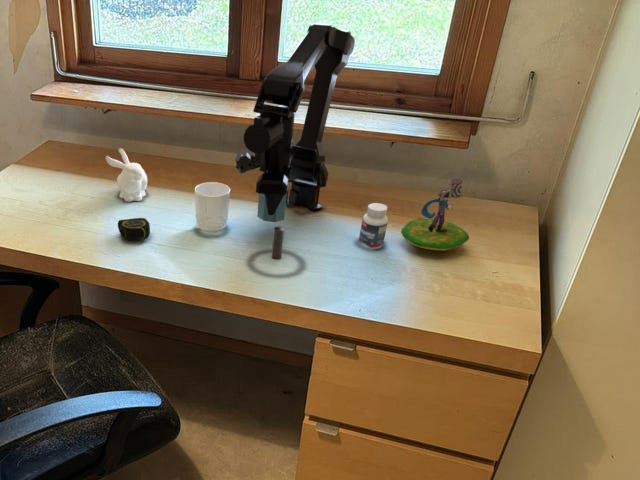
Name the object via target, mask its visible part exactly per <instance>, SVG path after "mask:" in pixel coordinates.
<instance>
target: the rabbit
mask: <svg viewBox="0 0 640 480" xmlns="http://www.w3.org/2000/svg"><path fill="white" fill-rule="evenodd" d="M118 153H119V154H120V155H121V158H122V161H123V162H121V161H120V160H118V159H115V158H111V157H110V156H109V155H106V156H105V161H106V163H107V164H108V165H109V166H111V167H114V168H118V169H122V170H121V173H119V174H118V176H117V177H116V185H117V187H118V189H119V190H120V193H119V198H120V199H123V200H124V201H125V202H129V203H130V202H133V201H135V202H140V201H142V200H143V198H144V197H146V191H145V190H146V189H147V186H148V182H149V180H148V175H147V173H146V172H145V169H144V168H143V167H142V166H141V164H139V163H138V162H130V159H129V158H128V155H127V154H126V152H125V150H124V149H123V148H122V147H120V148H118Z"/></svg>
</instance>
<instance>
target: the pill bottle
mask: <svg viewBox="0 0 640 480" xmlns="http://www.w3.org/2000/svg"><path fill="white" fill-rule="evenodd" d="M387 213H388V206H387V205H386V204H383V203H379V202H372V203H369V204H368V205H367V210H366V213H365V214H364V215H363V216H362V220H361V226H360V230H359V236H358V241H359V242H361V244H364V245H365V246H368V247H369V248H371V249H372V250H378V249H381V248H382V247H383V245H384V242H385V238H386V233H387V228H388V223H389V218H388V216H387Z"/></svg>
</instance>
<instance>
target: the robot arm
mask: <svg viewBox="0 0 640 480" xmlns="http://www.w3.org/2000/svg"><path fill="white" fill-rule="evenodd" d="M355 43H356V40H355V37H354V36H353V35H352V32H351V31H350V30H341V29H338V28H336V27H335V26H333V25H332V24H325V23H316V22H315V23H313V24H310V25H309V26H308V28H307V31H306V35H304V37H303V38H302V40H301V41H300V43H299V44H298V46H296V48H295V50H294V51H293V53H292V54H291V55H290V57H289V58H288V60H287V61H286V62H285V63H283V64H281V65H278V66H275V67H273V69H272V70H271V71H269V73H268V74H267V75H266V76H265V78H264V79H263V81H262V83H261V86H260V89H259V92H258V95H257V99H256V101H255V104H254V107H253V113H255V114H259V115H257V116H255V117H254V118H253V123H252V124H250V125H249V126H247V128H246V129H245V131H244V133H243V142H244V145H245V147H246V148H247V149H245V150H242V151H239V152H237V153H236V155H235V158H234V160H235V163H236V166H235V168H236V169H237V170H238V173H239V174H245V173H246V172H249V171H252V170H256V169H259V172H262V173H261V174H260V175H259V176H258V177H257V180H256V185H255V193H256V194H258V195H259V194H264V195H265V198H266V204H267V210H268V215H274V213H275V211H276V209H277V208H278V206H279V204H280V202H281V200H282V199H283V197H284V195H286V193H287V188H288V187H289V183H291V185H290V186H291V187H290V188H289V192H288V201H287V206H289V205H292V206H294V207H303V208H305V209H307V210H308V211H310V212H314V211H317V210H321V209H322V208H323V206H322V205H321V204H319V200H320V199H319V198H320V193H321V188H325V187H326V186H327V182H328V180H329V179H328V178H329V172H328V169H327V167H326V165H325V159H326V154H325V150H324V147H323V144H322V142H323V141H322V140H323V137H324V132H325V129H326V124H327V119H328V117H329V112H330V107H331V104H332V103H331V102H332V98H333V95H334V90H335V86H336V82H337V77H338V75H339V74H340V73H341V72H342V71H343V70H344V68H345V67H346V66H347V65H348V64H349V61H350V57H351V55H352V54H353V51H354V49H355V45H356V44H355ZM313 68H314V69H315V74H314V79H313V83H312V87H311V92H310V97H309V101H308V105H307V109H306V114H305V119H304V123H303V127H302V132H301V135H300V138H299V140H298V141H297V142H296V144H295V145H293V141H294V140H293V135H294V127H295V115H296V113H297V111H298V110H299V109H298V108H299V106H300V104H301V102H302V100H303V97H304V94H305V80H306V79H307V77H308V76H309V74H310V72H311V71H312V70H313ZM266 103H267V104H266Z"/></svg>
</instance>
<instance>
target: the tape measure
mask: <svg viewBox="0 0 640 480" xmlns="http://www.w3.org/2000/svg"><path fill="white" fill-rule="evenodd" d="M117 229H118V232H119V234H120V236H121V238H122V239H123V240H125V241H127V242H128V241H129V242H138V241H144V240H146V239H147V238H148V237H149V236H150V233H151V226H150V221H148V219H147V218H144V217H135V218H126V219H119V220H118V221H117Z"/></svg>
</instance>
